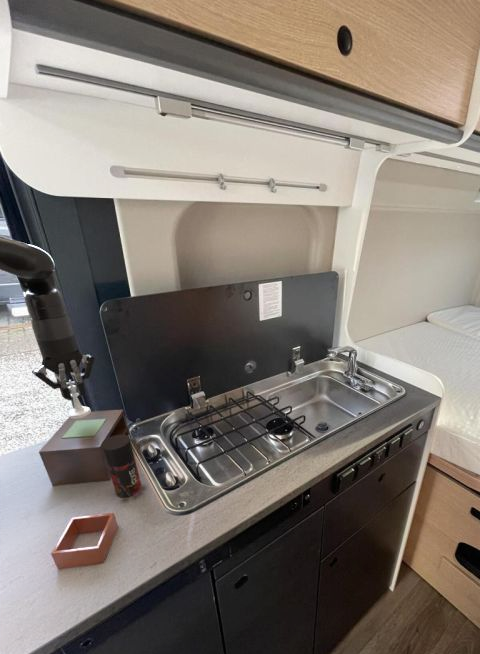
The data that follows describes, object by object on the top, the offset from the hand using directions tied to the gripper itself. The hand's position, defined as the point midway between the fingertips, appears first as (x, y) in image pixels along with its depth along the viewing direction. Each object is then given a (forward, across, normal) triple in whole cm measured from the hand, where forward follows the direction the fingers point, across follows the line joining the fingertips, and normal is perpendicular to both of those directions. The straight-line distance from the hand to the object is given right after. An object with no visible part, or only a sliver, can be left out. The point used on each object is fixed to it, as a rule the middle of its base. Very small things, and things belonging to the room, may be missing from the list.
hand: (74, 397), depth 85 cm
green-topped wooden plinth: (+21, 0, 0) cm, 21 cm away
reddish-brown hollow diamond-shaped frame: (+21, +13, +28) cm, 37 cm away
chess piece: (+5, 0, 0) cm, 5 cm away
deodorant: (+21, 0, +18) cm, 28 cm away
